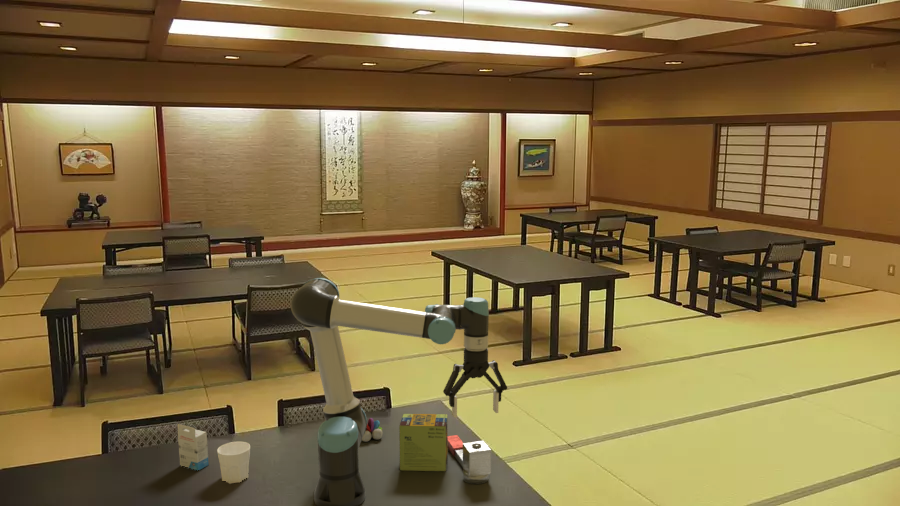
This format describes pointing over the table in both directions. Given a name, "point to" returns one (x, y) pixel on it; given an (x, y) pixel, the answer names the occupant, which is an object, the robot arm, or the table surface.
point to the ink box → (192, 447)
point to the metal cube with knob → (476, 458)
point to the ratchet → (457, 450)
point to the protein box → (423, 442)
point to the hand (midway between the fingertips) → (475, 413)
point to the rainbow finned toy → (372, 430)
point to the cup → (234, 461)
